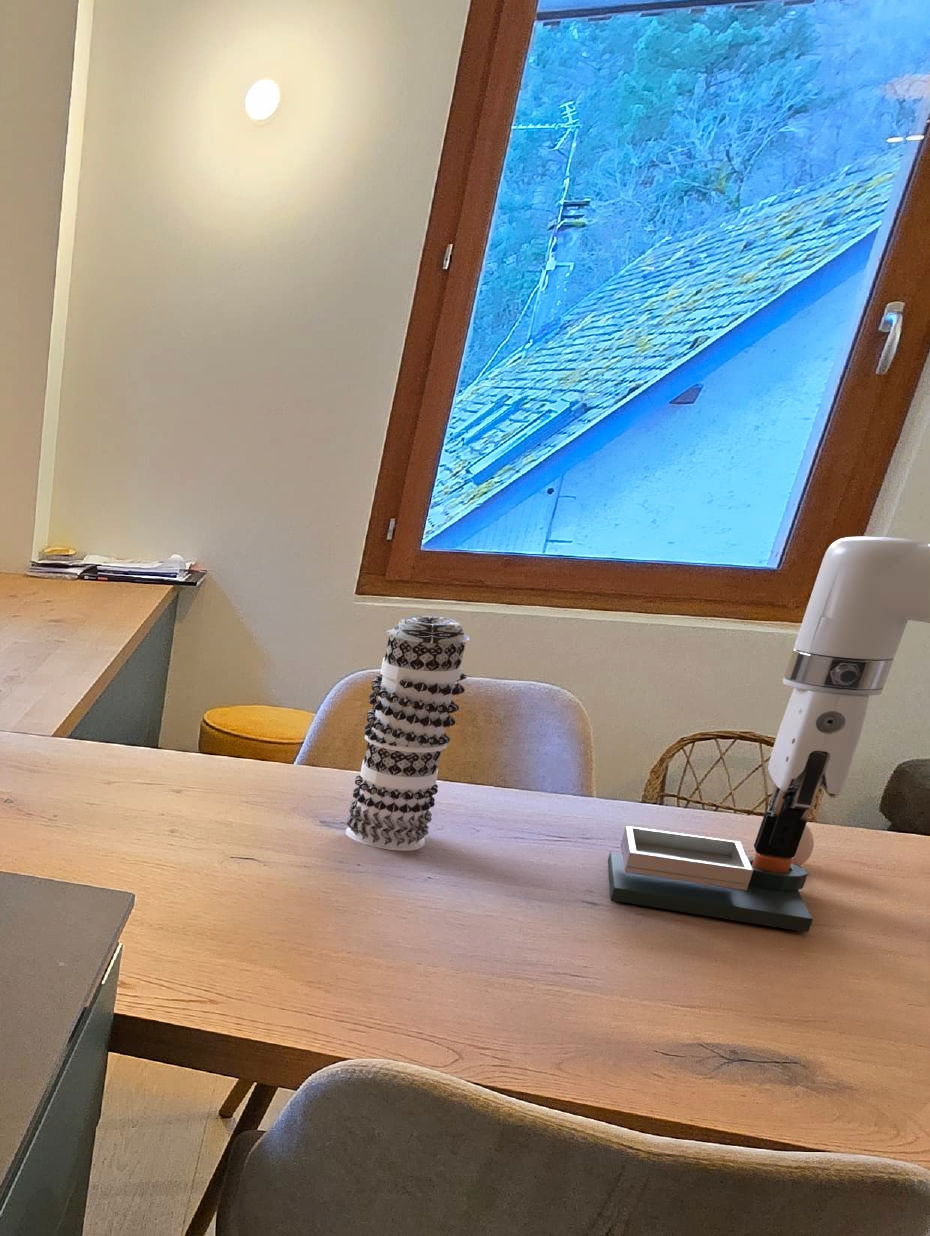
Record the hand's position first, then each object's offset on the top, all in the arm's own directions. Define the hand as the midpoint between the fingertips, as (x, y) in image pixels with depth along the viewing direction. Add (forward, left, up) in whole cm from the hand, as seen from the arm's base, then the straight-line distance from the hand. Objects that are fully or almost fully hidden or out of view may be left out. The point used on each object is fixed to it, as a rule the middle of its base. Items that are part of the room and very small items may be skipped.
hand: (773, 853), depth 121 cm
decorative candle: (+35, +2, -4) cm, 36 cm away
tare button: (0, 0, -2) cm, 2 cm away
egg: (-3, -10, -5) cm, 11 cm away
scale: (+5, +4, -4) cm, 8 cm away
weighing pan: (+8, +5, -1) cm, 9 cm away
